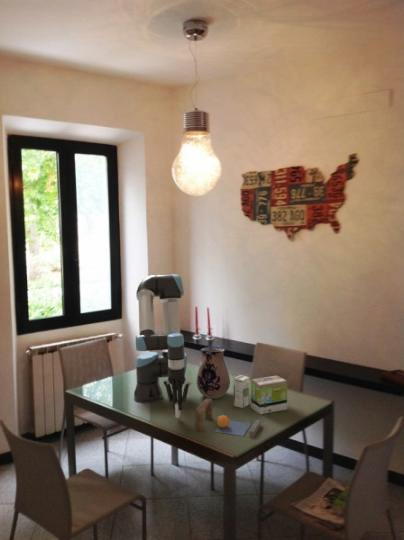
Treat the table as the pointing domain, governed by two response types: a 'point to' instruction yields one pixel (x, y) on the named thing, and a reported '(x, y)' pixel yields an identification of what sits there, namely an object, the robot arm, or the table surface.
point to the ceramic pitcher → (213, 373)
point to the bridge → (199, 410)
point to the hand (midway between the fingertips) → (178, 416)
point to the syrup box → (241, 391)
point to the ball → (223, 421)
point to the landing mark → (234, 428)
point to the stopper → (255, 428)
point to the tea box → (268, 394)
